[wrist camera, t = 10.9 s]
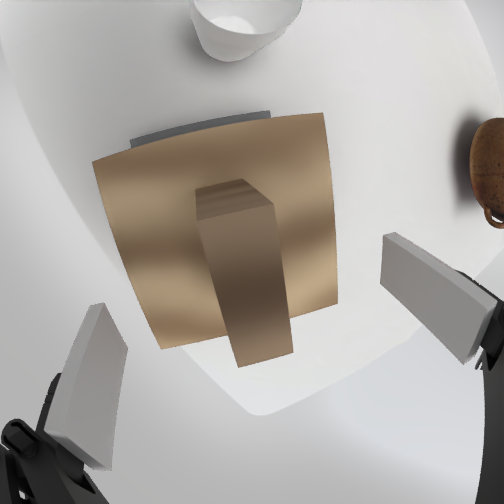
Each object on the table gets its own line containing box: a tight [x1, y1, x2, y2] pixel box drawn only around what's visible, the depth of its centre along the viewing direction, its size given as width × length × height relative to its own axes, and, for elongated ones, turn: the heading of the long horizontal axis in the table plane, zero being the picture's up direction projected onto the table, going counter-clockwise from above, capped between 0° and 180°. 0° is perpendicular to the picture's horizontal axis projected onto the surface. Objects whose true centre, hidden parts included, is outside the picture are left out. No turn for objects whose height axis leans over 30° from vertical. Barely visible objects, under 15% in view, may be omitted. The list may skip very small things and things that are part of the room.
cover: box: [92, 113, 338, 368], centre depth 22 cm, size 15×15×22 cm
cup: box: [189, 0, 302, 62], centre depth 19 cm, size 9×9×12 cm
